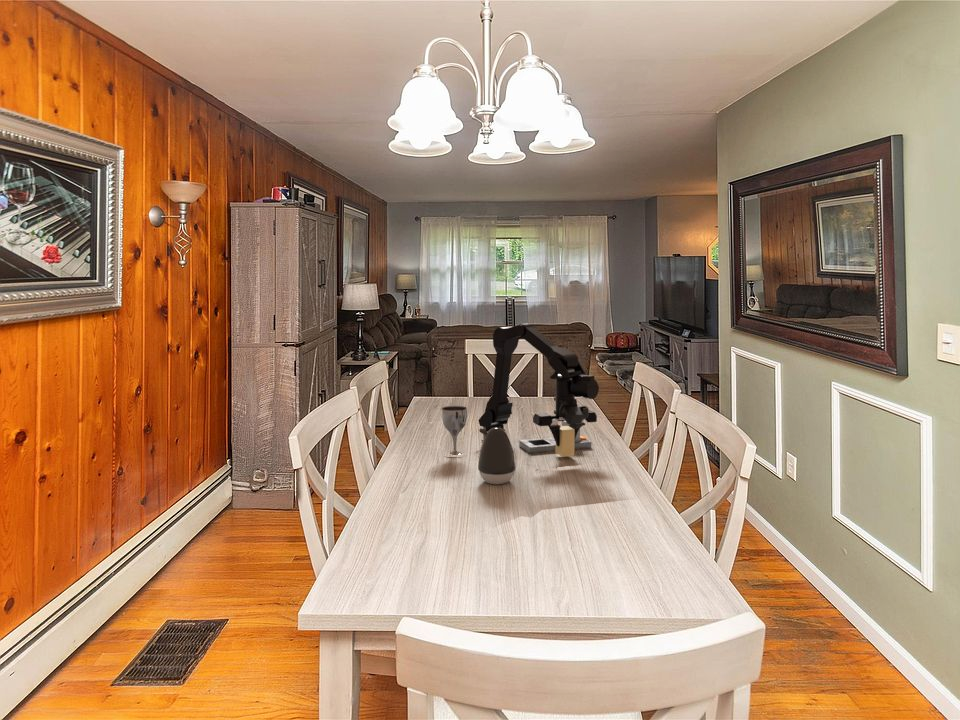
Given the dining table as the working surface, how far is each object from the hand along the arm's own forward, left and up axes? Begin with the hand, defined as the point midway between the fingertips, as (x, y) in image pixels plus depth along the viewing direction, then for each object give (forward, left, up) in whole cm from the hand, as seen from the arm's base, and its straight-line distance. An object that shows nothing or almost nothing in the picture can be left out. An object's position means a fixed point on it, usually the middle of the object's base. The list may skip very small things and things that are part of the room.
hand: (564, 445), depth 202 cm
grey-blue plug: (+8, +12, -4) cm, 15 cm away
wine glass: (-30, +17, -5) cm, 35 cm away
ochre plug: (0, 0, -3) cm, 3 cm away
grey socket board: (+2, +12, -5) cm, 13 cm away
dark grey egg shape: (-26, -13, -5) cm, 29 cm away
